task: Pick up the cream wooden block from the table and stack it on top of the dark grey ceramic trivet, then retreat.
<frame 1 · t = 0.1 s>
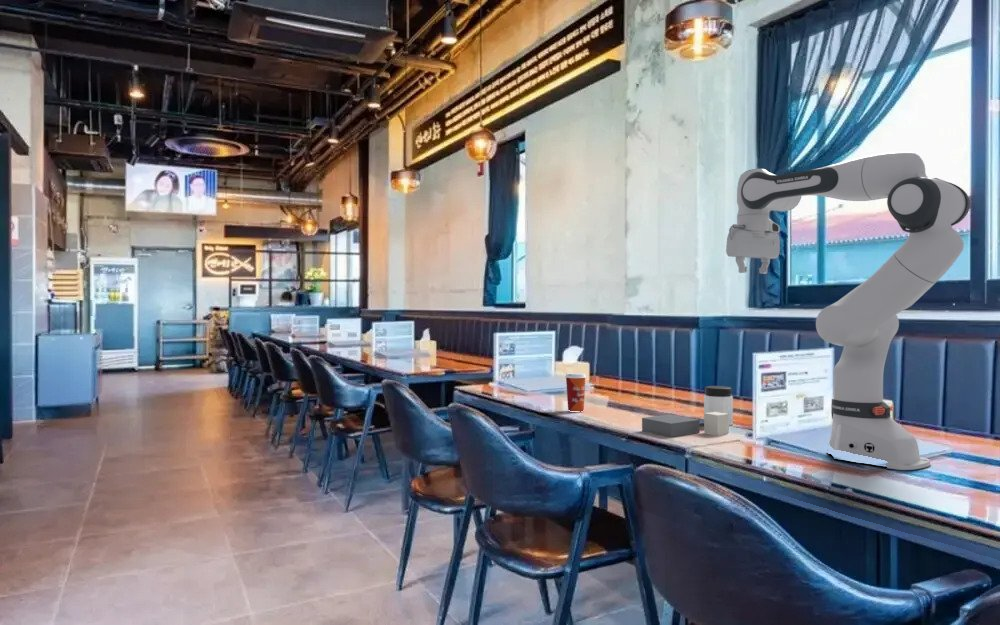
hand: (753, 273, 191), 48 cm above the table, tool pointing down, fingers open, 8 cm apart
trivet: (670, 431, 199), on the table
paper cup: (576, 412, 239), on the table
jar: (718, 424, 212), on the table
block: (716, 433, 196), on the table
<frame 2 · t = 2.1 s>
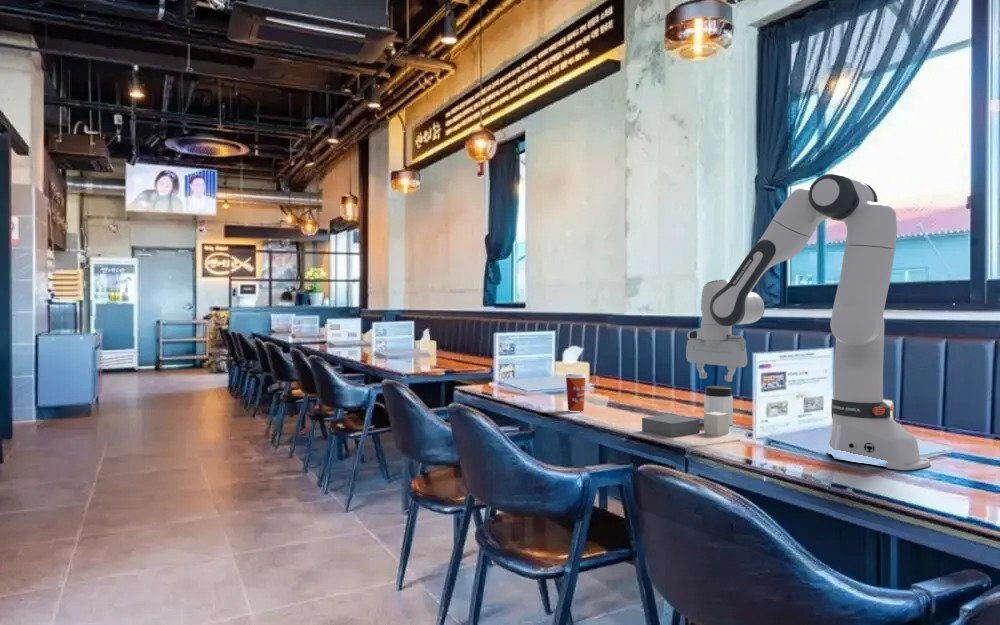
hand: (715, 379, 197), 16 cm above the table, tool pointing down, fingers open, 8 cm apart
nothing on the table moved.
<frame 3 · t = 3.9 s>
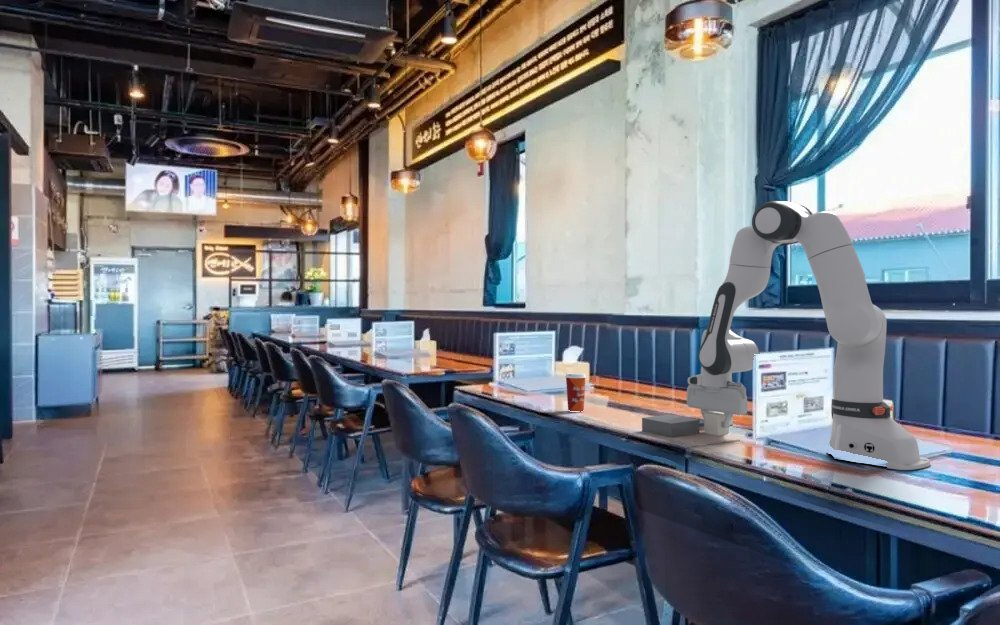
hand: (716, 426, 196), 2 cm above the table, tool pointing down, fingers closed on block, 5 cm apart
block: (716, 433, 196), on the table, touching gripper
everything else where it was.
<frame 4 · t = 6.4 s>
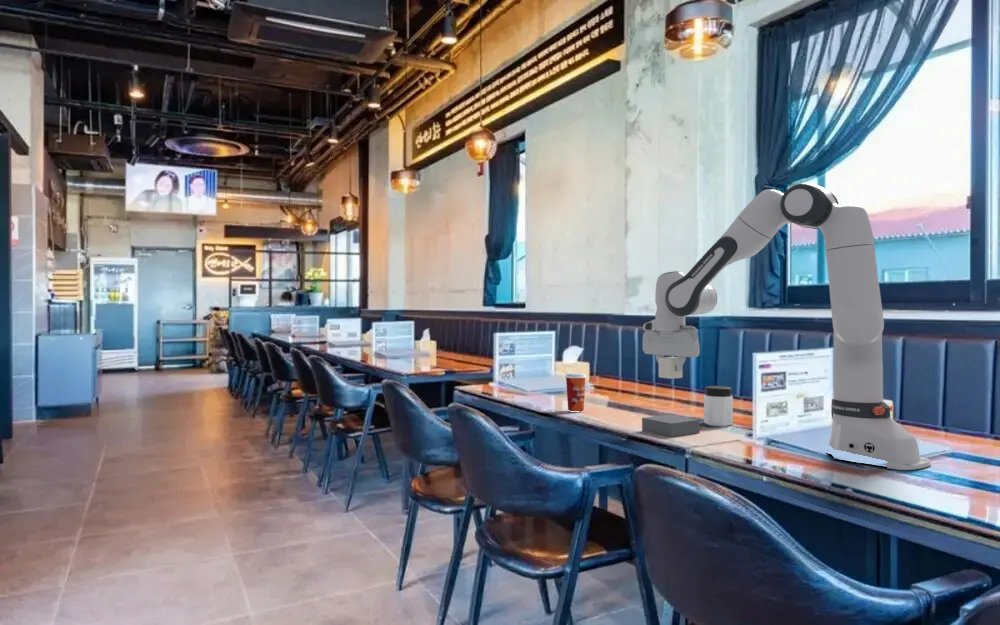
hand: (670, 370, 199), 19 cm above the table, tool pointing down, fingers closed on block, 5 cm apart
block: (670, 377, 199), point 17 cm above the table, touching gripper
everything else where it was.
when the fingers open (7 cm above the table, at t = 8.8 s): block stays where it is, resting on trivet.
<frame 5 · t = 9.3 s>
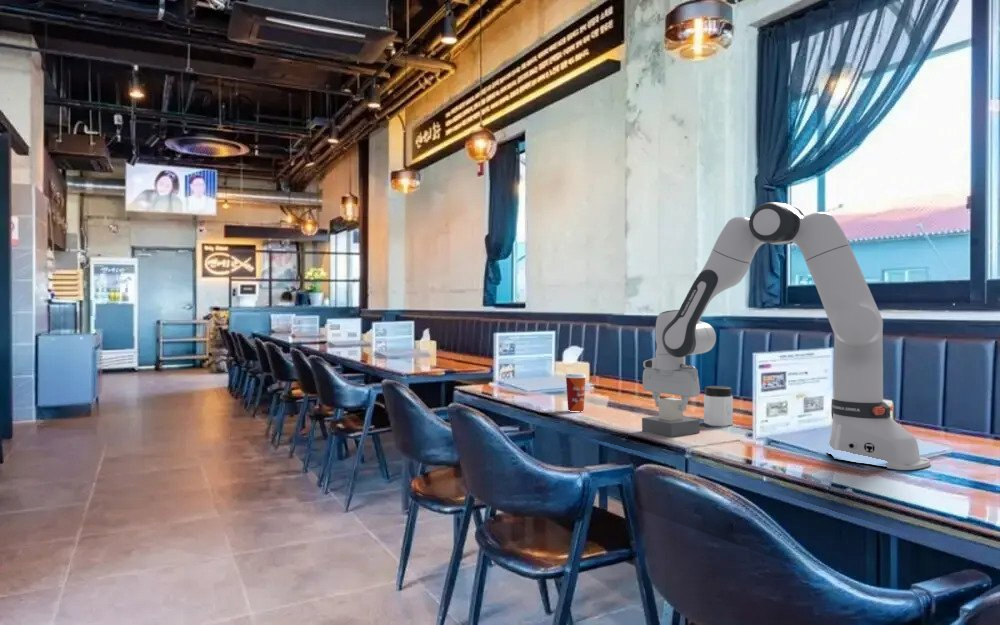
hand: (670, 408, 199), 7 cm above the table, tool pointing down, fingers open, 8 cm apart
block: (670, 418, 199), point 4 cm above the table, touching trivet
everything else where it was.
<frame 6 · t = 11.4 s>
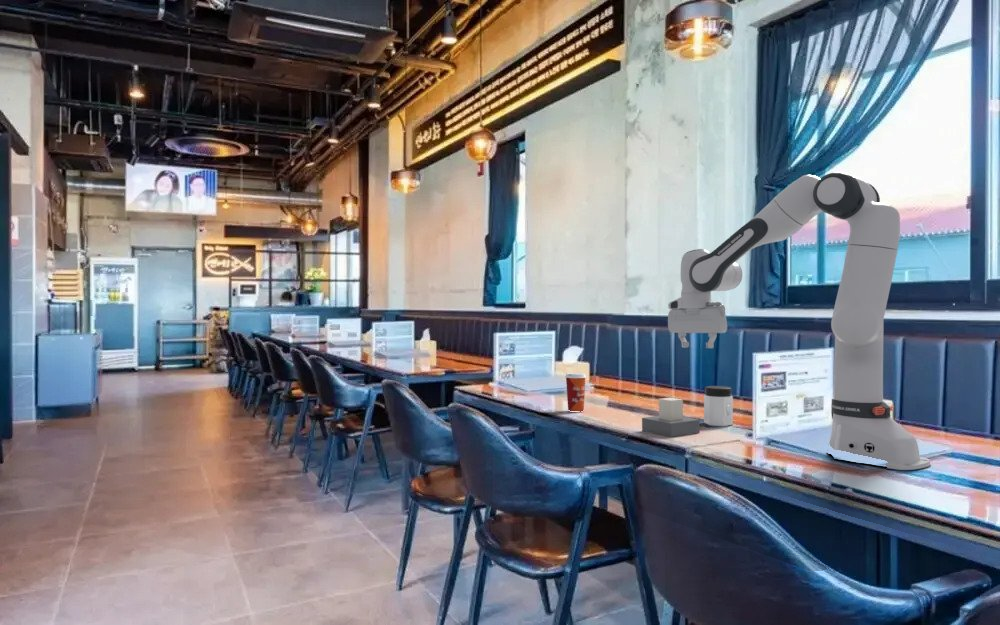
hand: (697, 347, 200), 26 cm above the table, tool pointing down, fingers open, 8 cm apart
nothing on the table moved.
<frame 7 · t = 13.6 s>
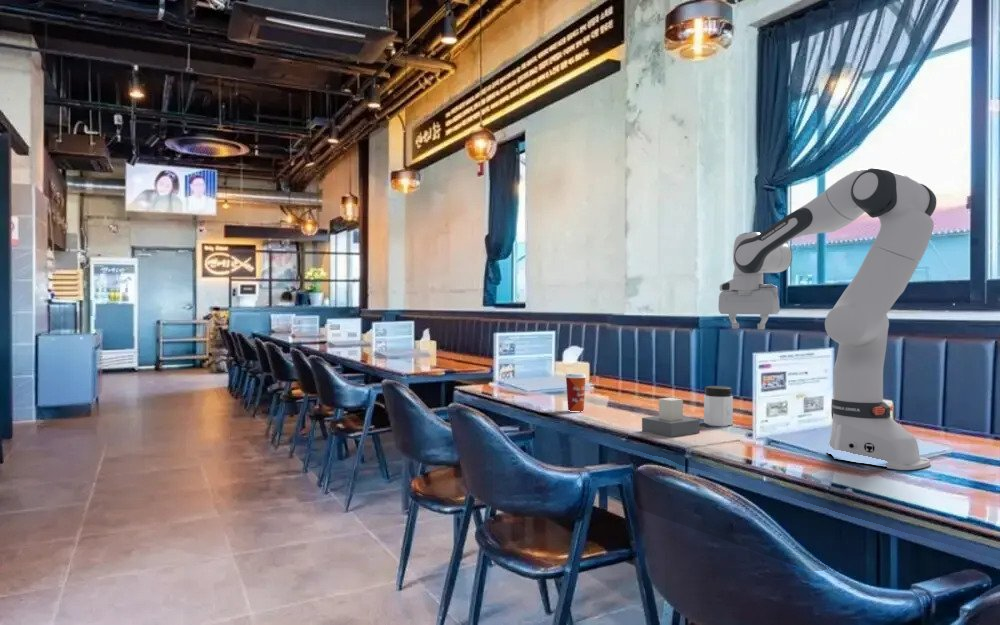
hand: (748, 328, 204), 31 cm above the table, tool pointing down, fingers open, 8 cm apart
nothing on the table moved.
at the end: block inside the target area on the trivet (0.1 cm from its centre), point 4.0 cm above the trivet's base; block tilted 0°; the gripper is holding nothing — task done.
